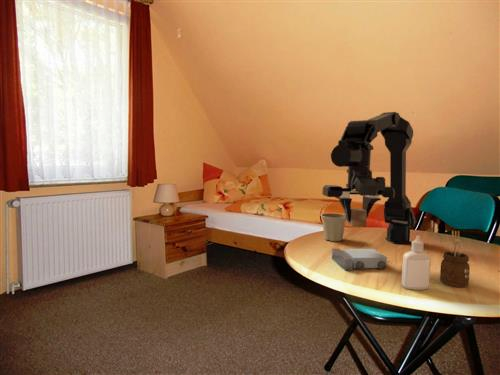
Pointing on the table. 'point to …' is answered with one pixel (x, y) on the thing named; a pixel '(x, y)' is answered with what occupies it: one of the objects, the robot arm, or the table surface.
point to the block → (358, 218)
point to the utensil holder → (455, 266)
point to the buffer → (342, 259)
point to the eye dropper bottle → (416, 267)
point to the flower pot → (333, 226)
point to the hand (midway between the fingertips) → (356, 221)
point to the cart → (366, 258)
